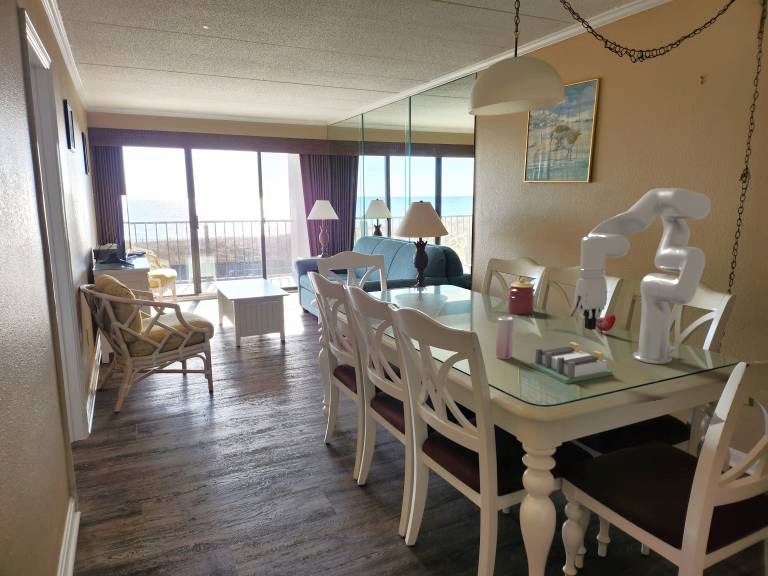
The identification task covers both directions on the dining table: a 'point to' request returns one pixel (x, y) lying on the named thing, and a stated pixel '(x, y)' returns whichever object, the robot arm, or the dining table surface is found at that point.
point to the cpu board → (570, 365)
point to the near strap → (581, 360)
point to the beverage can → (504, 337)
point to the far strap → (558, 350)
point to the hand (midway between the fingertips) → (590, 328)
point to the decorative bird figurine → (605, 323)
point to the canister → (521, 298)
